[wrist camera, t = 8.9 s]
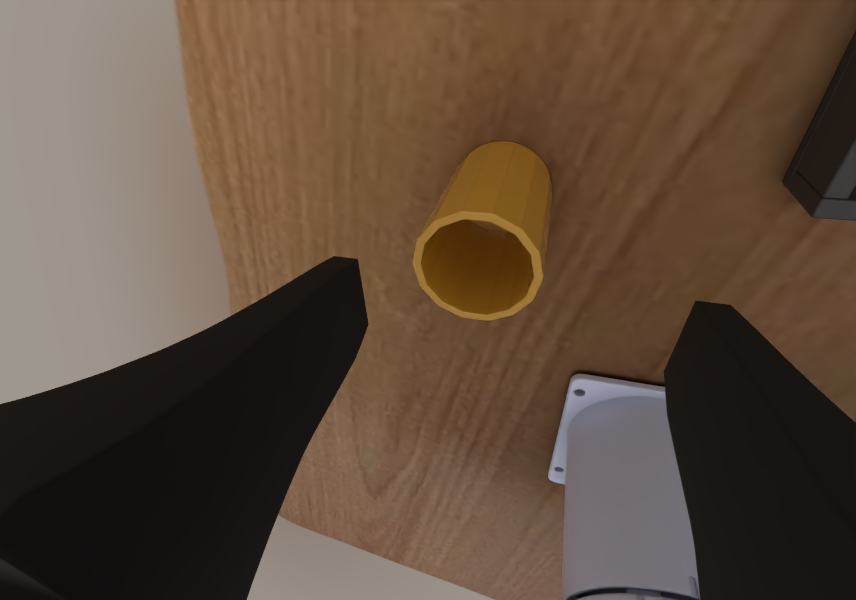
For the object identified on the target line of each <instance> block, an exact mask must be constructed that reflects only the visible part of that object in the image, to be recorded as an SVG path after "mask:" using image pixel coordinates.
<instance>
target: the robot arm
mask: <svg viewBox="0 0 856 600" xmlns="http://www.w3.org/2000/svg"><path fill="white" fill-rule="evenodd" d="M367 327H368V318H367V312H366V306H365V300H364V294H363V288H362V282H361V276H360V270H359V264H358V259H353V258H345V257H336V256H334V257H332V258H330V259H328V260H326V261H324V262H322V263H320V264H319V265H317V266H315V267H314V268H312V269H310V270H309V271H307V272H305V273H304V274H302V275H300V276H299V277H297V278H296V279H294V280H292V281H291V282H289V283H287V284H286V285H284V286H282V287H281V288H279V289H277V290H276V291H274V292H272V293H271V294H269V295H267V296H266V297H264V298H262V299H261V300H259V301H257V302H255V303H254V304H252V305H250V306H248V307H246V308H245V309H243V310H241V311H239V312H237V313H235V314H234V315H232V316H230V317H228V318H227V319H225V320H223V321H221V322H219V323H217V324H215V325H213V326H211V327H209V328H207V329H205V330H203V331H201V332H199V333H197V334H195V335H193V336H191V337H189V338H186V339H184V340H182V341H180V342H178V343H175V344H173V345H171V346H169V347H167V348H164V349H162V350H160V351H157V352H155V353H152V354H150V355H147V356H145V357H142V358H139V359H137V360H134V361H132V362H129V363H126V364H124V365H121V366H119V367H116V368H114V369H111V370H108V371H106V372H104V373H100V374H97V375H94V376H91V377H88V378H86V379H83V380H80V381H77V382H74V383H71V384H68V385H64V386H61V387H58V388H55V389H52V390H48V391H45V392H42V393H39V394H35V395H32V396H29V397H25V398H22V399H18V400H15V401H11V402H7V403H3V404H0V600H247V597H248V594H249V591H250V588H251V585H252V582H253V579H254V577H255V574H256V571H257V568H258V566H259V563H260V560H261V558H262V555H263V552H264V550H265V547H266V544H267V541H268V539H269V536H270V533H271V531H272V528H273V526H274V523H275V521H276V518H277V516H278V513H279V511H280V508H281V506H282V503H283V501H284V498H285V496H286V493H287V491H288V489H289V486H290V484H291V482H292V479H293V477H294V475H295V472H296V470H297V468H298V465H299V463H300V461H301V458H302V456H303V454H304V452H305V450H306V448H307V446H308V444H309V442H310V440H311V438H312V436H313V434H314V432H315V431H316V429H317V427H318V425H319V423H320V422H321V420H322V418H323V416H324V414H325V413H326V411H327V409H328V407H329V406H330V404H331V402H332V400H333V398H334V397H335V395H336V393H337V391H338V389H339V388H340V386H341V384H342V382H343V380H344V379H345V377H346V375H347V373H348V371H349V369H350V368H351V366H352V364H353V362H354V360H355V358H356V355H357V353H358V351H359V348H360V346H361V343H362V340H363V338H364V335H365V332H366V329H367ZM664 379H665V387H661V386H655V385H649V384H643V383H637V382H630V381H624V380H618V379H612V378H606V377H599V376H593V375H587V374H576V375H574V376H572V377H571V379H570V384H569V388H568V392H567V396H566V400H565V404H564V409H563V413H562V417H561V421H560V425H559V430H558V434H557V438H556V442H555V446H554V450H553V455H552V459H551V463H550V467H549V471H548V478H549V479H550V480H551V481H553V482H556V483H561V484H565V508H564V543H563V600H856V423H855V422H854V421H853V420H852V419H851V418H850V417H848V416H847V415H846V414H845V413H844V412H843V411H842V410H840V409H839V408H838V407H837V406H836V405H835V404H834V403H833V402H832V401H830V400H829V399H828V398H827V397H826V396H825V395H824V394H823V393H822V392H821V391H820V390H818V389H817V388H816V387H815V386H814V385H813V384H812V383H811V382H810V381H809V380H808V379H807V378H806V377H805V376H804V375H802V374H801V373H800V372H799V371H798V370H797V369H796V368H795V367H794V366H793V365H792V364H791V363H790V362H789V361H788V360H787V359H786V358H785V357H784V356H783V355H782V354H781V353H780V352H779V351H778V350H777V349H776V348H775V347H774V346H773V345H772V344H771V343H770V342H769V341H768V340H766V339H765V338H764V337H763V336H762V335H761V334H760V333H759V332H758V331H757V330H756V329H755V328H754V327H753V326H752V325H751V324H750V323H749V322H748V321H747V320H746V319H745V318H744V317H743V316H742V315H741V314H740V313H739V312H738V311H736V310H735V309H734V308H733V307H732V306H731V305H726V304H718V303H710V302H702V301H695V303H694V305H693V308H692V310H691V312H690V314H689V316H688V319H687V321H686V323H685V325H684V328H683V330H682V332H681V334H680V337H679V339H678V341H677V343H676V346H675V348H674V350H673V352H672V354H671V357H670V359H669V361H668V363H667V366H666V368H665V370H664ZM577 389H581V390H577Z"/></svg>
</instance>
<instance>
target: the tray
mask: <svg viewBox="0 0 856 600" xmlns="http://www.w3.org/2000/svg"><path fill="white" fill-rule="evenodd" d="M783 185H784V186H785V187H786V188H788V190H789V191H790V192H791V193H792V195H793V196H794V197H795V198H796V199H797V200H798V202H799V203H800V204H801V205H802V206H803V207H804V209H805V210H806V211H807V212H808V213H809V215H810V216H811V217H813V218H826V219H840V220H853V221H856V33H855V35H854V37H853V39H852V41H851V43H850V45H849V47H848V49H847V51H846V53H845V55H844V58H843V60H842V62H841V64H840V66H839V68H838V70H837V72H836V74H835V76H834V78H833V80H832V82H831V84H830V86H829V88H828V90H827V92H826V94H825V96H824V98H823V101H822V103H821V105H820V107H819V109H818V111H817V113H816V115H815V117H814V119H813V121H812V123H811V125H810V127H809V129H808V131H807V133H806V135H805V137H804V139H803V141H802V143H801V146H800V148H799V150H798V152H797V154H796V156H795V158H794V160H793V162H792V164H791V166H790V168H789V170H788V172H787V174H786V176H785V178H784V180H783Z"/></svg>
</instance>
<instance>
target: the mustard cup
mask: <svg viewBox="0 0 856 600" xmlns="http://www.w3.org/2000/svg"><path fill="white" fill-rule="evenodd" d="M551 203H552V184H551V178H550V174H549V172H548V169H547V167H546V165H545V164H544V162H543V161H542V160H541V158H540V157H539V156H538V155H537V154H536V153H534V152H533V151H532V150H530V149H528V148H527V147H525V146H523V145H520V144H517V143H513V142H507V141H497V142H491V143H487V144H484V145H482V146H479V147H477V148H476V149H474V150H473V151H471V152H470V153H469V154H468V155H467V156H466V157H465V158H464V159H463V161H462V162H461V163H460V165H459V166H458V167H457V169H456V170H455V172H454V174H453V175H452V177H451V179H450V181H449V183H448V184H447V186H446V188H445V190H444V192H443V193H442V195H441V197H440V199H439V201H438V203H437V204H436V206H435V208H434V210H433V212H432V213H431V215H430V217H429V219H428V221H427V223H426V224H425V226H424V228H423V230H422V232H421V233H420V235H419V237H418V239H417V242H416V247H415V252H414V258H413V266H414V269H415V272H416V275H417V278H418V281H419V284H420V286H421V288H422V289H423V290H424V291H425V292H426V293H427V294H428V295H429V296H430V298H431V299H432V300H433V301H434V302H435V303H436V304H437V305H438V306H440V307H442V308H444V309H446V310H448V311H450V312H452V313H454V314H456V315H458V316H460V317H463V318H471V319H478V320H485V321H487V320H488V321H489V320H494V319H498V318H503V317H508V316H512V315H514V314H516V313H517V312H518V311H520V310H521V309H522V308H524V307H525V306H526V305H528V304H529V303H531V302H532V301H533V300H534V298H535V296H536V293H537V291H538V289H539V287H540V285H541V282H542V280H543V276H544V266H545V257H546V248H547V239H548V230H549V221H550V212H551Z"/></svg>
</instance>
